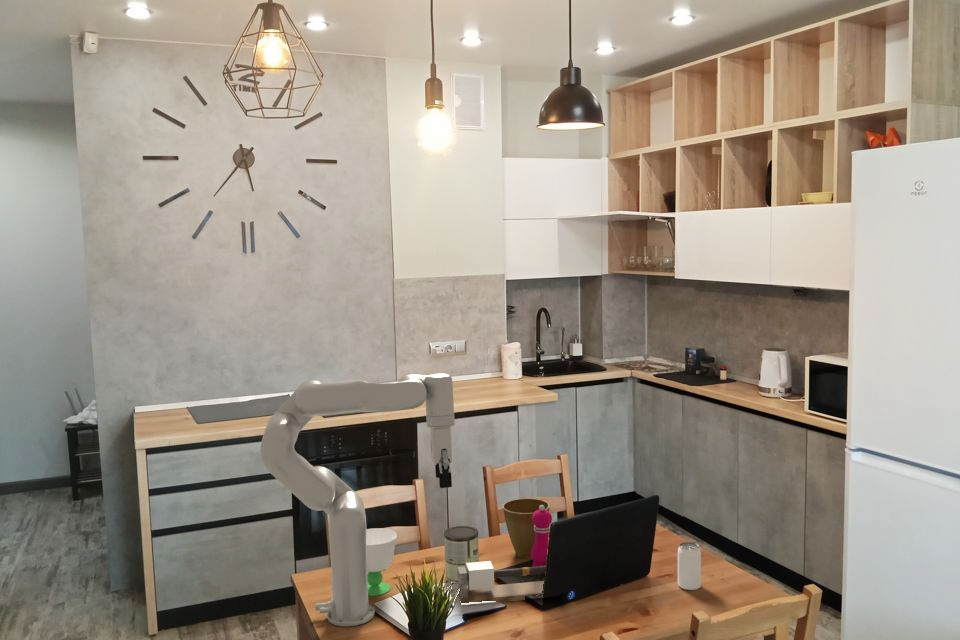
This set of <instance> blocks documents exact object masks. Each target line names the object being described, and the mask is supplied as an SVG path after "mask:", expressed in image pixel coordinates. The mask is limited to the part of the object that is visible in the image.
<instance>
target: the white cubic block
mask: <svg viewBox="0 0 960 640" xmlns="http://www.w3.org/2000/svg"><path fill="white" fill-rule="evenodd" d="M494 570H495V568H494V566H493V563H492V561H491V560H485V561H479V562H472V563H466V572H467V573H468V580H467V588H469V590H478V589H489V588H494V585H495V578H494Z"/></svg>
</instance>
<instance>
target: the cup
mask: <svg viewBox="0 0 960 640" xmlns="http://www.w3.org/2000/svg"><path fill="white" fill-rule="evenodd" d="M397 537H398V534H397V533H396V532H395V531H394V530H391V529H387V528H382V527H381V528H380V527H379V528H377V527H376V528H366V549H367V575H368V597H377V596H383V595H385V594H387V593H388V592H390V591H391V585H390V584H388V583H386V582H383V578H384V577H383V573H382V572H384V571H387V569H389V568H390V567H391V566H392V564H393V562H394V561H393V560H394V555H395V549H396V543H397V539H398V538H397Z"/></svg>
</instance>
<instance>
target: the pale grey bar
mask: <svg viewBox="0 0 960 640" xmlns="http://www.w3.org/2000/svg"><path fill="white" fill-rule="evenodd" d="M457 569H458V584H457V589H459V588H460V591H459V594H457V596H459V597H458V600H459V599H460V600H459V602H460V601H461V603H469V602H482V601H496V602H498V603H507V602H508V603H509V602H519V601H526V600H525V596H527V595H535V594H542V591H543V584H544V581H545V580H539V581H537V580H536V581H527V582H517V583H504V584H494V588H489V589H478V590H469V588H468V585H467V580H468V573H467V572H466V569H465V566H462V567H457ZM545 571H546V566H539V567H533V566H525V567H518V568H505V569H498V570H497V569H494V579H496V578H497V579H498V578H509V577H517V576H518V577H519V576H522V577H523V576H530V575H532V576H533V575H541V574H546V573H545ZM461 603H460V604H461Z"/></svg>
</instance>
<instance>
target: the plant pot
mask: <svg viewBox="0 0 960 640" xmlns="http://www.w3.org/2000/svg"><path fill="white" fill-rule="evenodd" d="M540 505H544V507H545V509H544V510H547V511H549V512H550V503H548V502H547V501H546V500H544V499H543V500H542V499H538V498H530V497H529V498H528V497H527V498H517V499H511V500H509V501H506V502H505V503H503V505H502V510H503V516H504V520H505V525H506V528H507V532H508V535H509V538H510V542H511V545H512V547H513V550H514V552H515V554H516V556H517V557H520V558H522V559H523V558H524V559H529V558H531V550H532V547H533V545H534V543H535V539H536V532H535V531H534V525H535V524H534V523H533V521H532V516H533V514H534V512H535V511H537V510H539V506H540ZM531 559H532V558H531Z"/></svg>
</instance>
